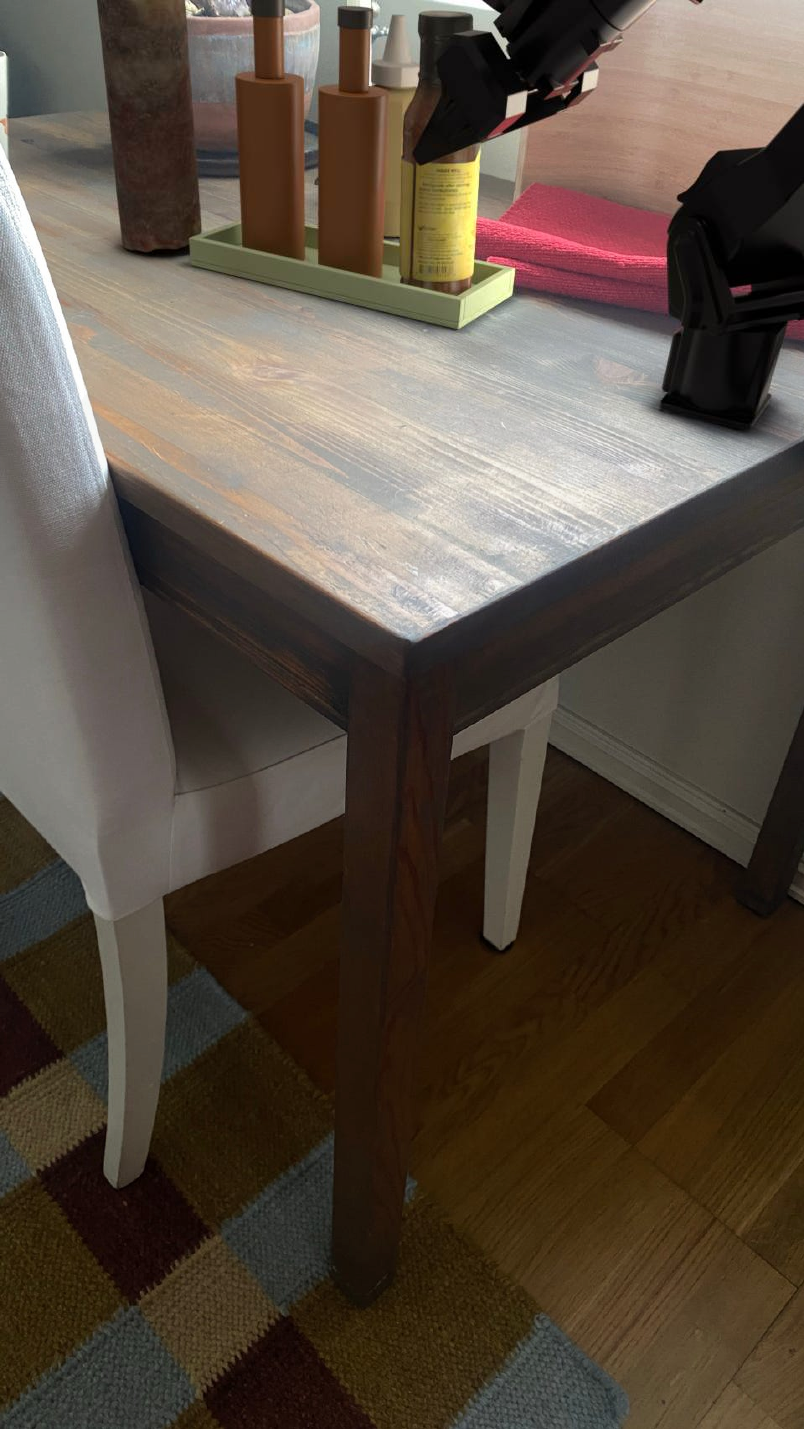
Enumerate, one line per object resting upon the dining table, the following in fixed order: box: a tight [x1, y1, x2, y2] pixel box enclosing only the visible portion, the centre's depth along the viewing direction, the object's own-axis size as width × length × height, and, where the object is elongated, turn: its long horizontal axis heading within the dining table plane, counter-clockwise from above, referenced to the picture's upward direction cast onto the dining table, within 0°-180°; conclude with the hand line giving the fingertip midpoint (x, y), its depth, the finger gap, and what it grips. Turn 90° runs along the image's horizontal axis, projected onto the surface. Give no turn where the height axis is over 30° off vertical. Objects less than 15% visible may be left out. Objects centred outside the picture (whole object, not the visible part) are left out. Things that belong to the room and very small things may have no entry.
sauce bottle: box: [398, 10, 482, 296], centre depth 82 cm, size 6×6×20 cm
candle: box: [96, 0, 203, 253], centre depth 90 cm, size 8×7×20 cm
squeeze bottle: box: [370, 13, 420, 238], centre depth 98 cm, size 8×8×18 cm
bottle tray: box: [188, 0, 516, 330], centre depth 85 cm, size 27×11×20 cm, turn 61°
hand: (443, 150), depth 81 cm, fingers open, 9 cm apart
